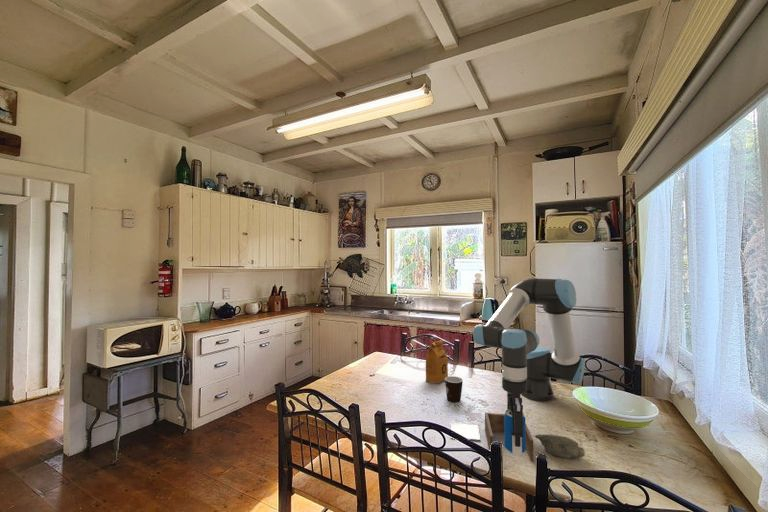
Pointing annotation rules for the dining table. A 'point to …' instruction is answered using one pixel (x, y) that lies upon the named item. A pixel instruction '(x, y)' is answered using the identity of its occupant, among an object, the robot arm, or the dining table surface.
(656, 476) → the dining table surface
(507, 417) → the beverage can
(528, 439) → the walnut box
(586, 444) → the dining table surface
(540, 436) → the fossil
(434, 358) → the coffee package
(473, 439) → the white flat square slab
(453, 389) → the coffee mug
